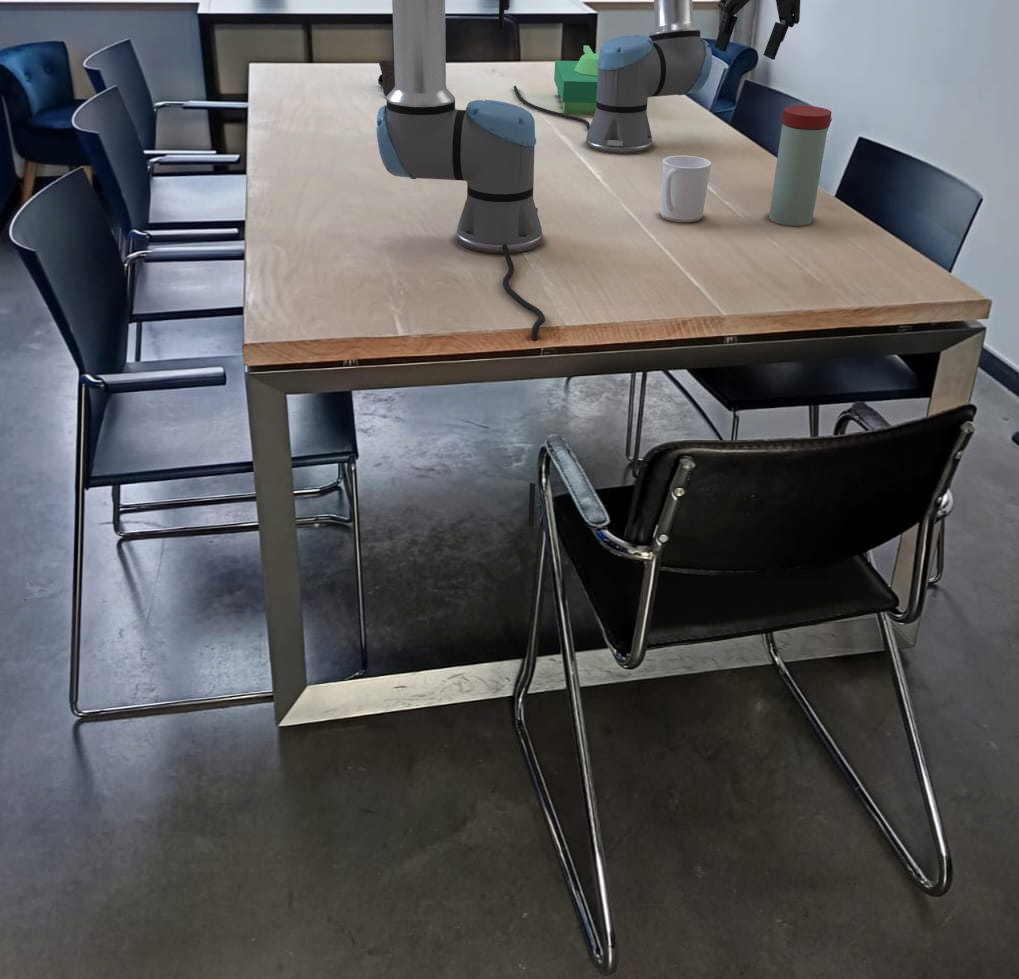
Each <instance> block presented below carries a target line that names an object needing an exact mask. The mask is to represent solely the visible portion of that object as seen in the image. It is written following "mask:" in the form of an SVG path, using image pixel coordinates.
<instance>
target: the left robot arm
mask: <svg viewBox="0 0 1019 979" xmlns="http://www.w3.org/2000/svg"><path fill="white" fill-rule="evenodd" d="M391 4H392V5H391V6H392V7H391V8H392V9H391V10H392V34H393V36H392V37H393V39H392V40H393V61H394V68H395V87H394V89H393V90H392V91H391V92H390V93H389V94H388V96H386V104H384V105H383V106H381V107H379V109H378V111H377V115H376V138H377V147H378V151H379V156H380V159H381V162H382V164H383V166H384V168H385V170H386V171H387V172H388V173H389V174H390V175H391V176H393V177H400V178H407V179H408V178H409V179H411V180H417V179H422V180H423V179H426V180H442V181H443V180H445V181H461V182H464V181H465V182H466V192H467V193H466V198H465V202H464V205H463V209H462V211H461V214H460V218H459V220H458V224H457V228H456V241H457V243H458V244H459V245H461V246H462V247H464V248H466V249H468V250H470V251H475V252H479V253H486V254H497V255H499V254H500V255H504V258H505V262H506V264H507V268H508V270H507V272H506V274H505V276H504V277H503V279H502V287H503V288H504V291H505V292H506V293H507V294H508V295H509V297H511V298H512V299H513V300H514V301H516V302H517V303H518V304H519V306H521V307H523V308H524V309H527V310H528V311H530V312H532V314H534V315H536V316H537V320H536V321H535V322H534V323H533V325H532V328H531V336H530V338H531V339H530V340H531V341H532V342H537V341H538V336H539V335H538V334H539V330H540V327H541V326H542V325H543V324H544V323H545V321H546V317H545V314H544V313H543V312H542V310H540V309H539V308H538V307H537V306H535V305H533V304H532V303H530V302H528V301H527V300H525V299H524V298H522V297H521V295H519V294H518V293H517V292H516V291H515V290H514V289H512V287H511V286H510V284H509V281H510V280H511V278H512V277H513V275H514V271H515V265H514V262H513V259H512V256H511V254H517V253H524V252H527V251H530V250H533V249H536V248H538V247H539V246H540V245H541V244H542V243H543V229H542V224H541V221H540V220H541V219H540V218H539V214H538V213H539V212H538V211H539V209H538V207H537V206H536V204H535V199H534V183H535V181H534V180H535V148H536V147H535V146H536V144H537V139H536V128H535V127H536V123H535V118H534V116H533V114H532V113H530V112H529V111H528V110H527V109H525V108H524V107H522V106H519V105H517V104H514V103H510V102H505V101H499V100H492V99H485V100H483V99H476V100H471V101H469V102H468V104H467V106H466V107H465V109H457V108H456V97H455V95H454V94H453V93H452V92H451V91H450V90H449V89H448V87H447V64H446V63H447V61H446V60H447V57H446V56H447V54H446V53H447V49H446V44H447V43H446V42H447V41H446V0H391ZM510 7H511V0H498V29H502V30H503V28H505V11H509V10H510ZM528 495H529V496H528V520H527V521H528V524H527V525H528V527H532V528H533V527H535V509H536V508H535V507H536V504H535V503H536V483H535V482H529V494H528Z"/></svg>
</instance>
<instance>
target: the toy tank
mask: <svg viewBox="0 0 1019 979" xmlns="http://www.w3.org/2000/svg"><path fill="white" fill-rule="evenodd" d="M599 54H600V53H594V52H593V50H592V49H591V47H590V45H586V44H585V45H583V55H581V57H580V58H579V60H554V73H553V74H554V75H553V81H554V83H555V87H556V89H557V90H556V91H557V92H556V94H557V97H560V101H561V103H562V114H566V115H570V114H571V115H574V114H575V115H594V114H595V111H596V100H597V82H598V60H599Z"/></svg>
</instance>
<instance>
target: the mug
mask: <svg viewBox="0 0 1019 979" xmlns="http://www.w3.org/2000/svg"><path fill="white" fill-rule="evenodd" d="M711 167H712V162H711V161H710V160H709V159H707V158H704V157H700V156H695V155H670V156H667V157H665V158H663V159H662V169H661V170H662V172H661V189H660V190H661V192H660V193H661V195H660V212H659V213H660V216H661V218H663V219H664V220H667V221H670V222H676V223H693V222H695V223H696V222H698V221H700V220H701V219H703V216H704V210H705V204H706V197H707V191H708V185H709V178H710V173H711Z"/></svg>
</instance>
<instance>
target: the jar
mask: <svg viewBox="0 0 1019 979" xmlns="http://www.w3.org/2000/svg"><path fill="white" fill-rule="evenodd" d="M781 124H782V125H781V132H780V138H779V145H778V146H779V147H778V151H777V158H776V165H775V172H774V177H773V178H774V179H773V185H772V186H773V187H772V193H771V199H770V200H771V201H770V205H769V212H768V219H769V221H771V222H773V223H775V224H779V225H783V226H788V227H789V226H791V227H803V226H807V225H810V224H811V223H813V219H814V212H815V207H816V201H817V197H818V196H817V194H818V189H819V183H820V177H821V172H822V165H823V158H824V153H825V147H826V142H827V137H828V136H827V135H828V129H829V127H827V128H823V129H801V128H795V127H790V126H787V125H784V124H783V123H782V122H781Z"/></svg>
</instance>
